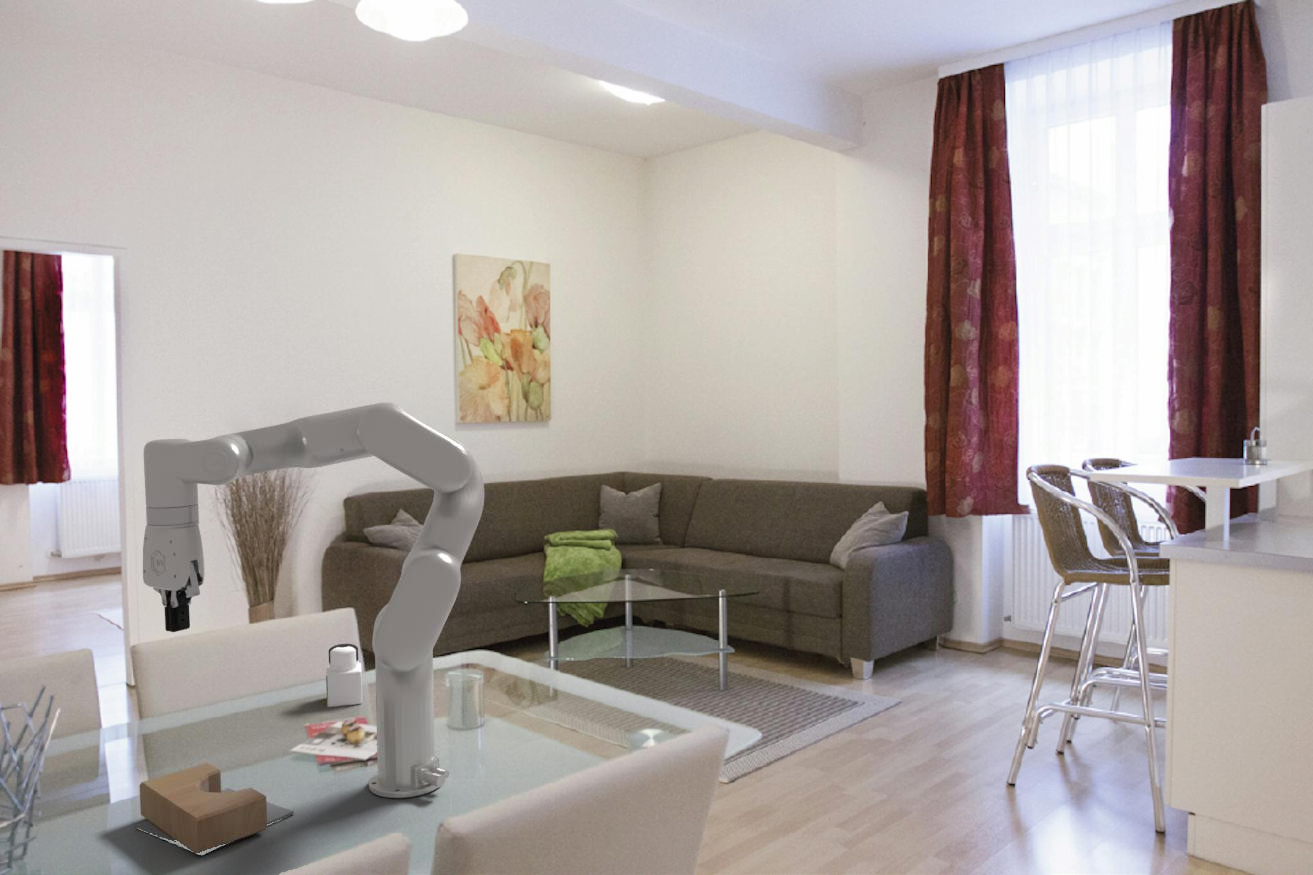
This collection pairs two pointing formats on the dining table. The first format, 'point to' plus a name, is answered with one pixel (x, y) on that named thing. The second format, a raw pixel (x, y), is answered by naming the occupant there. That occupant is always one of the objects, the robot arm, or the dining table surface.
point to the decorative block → (202, 808)
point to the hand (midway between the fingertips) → (177, 629)
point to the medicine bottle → (343, 676)
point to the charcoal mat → (272, 810)
